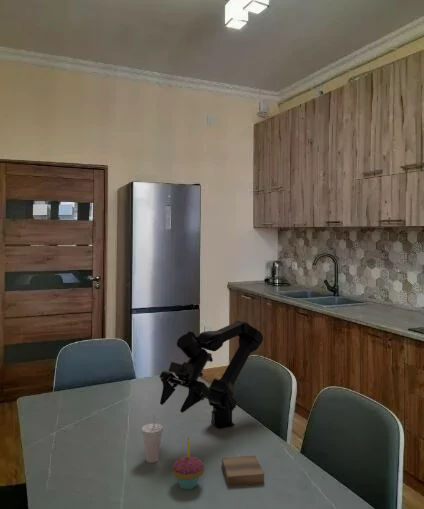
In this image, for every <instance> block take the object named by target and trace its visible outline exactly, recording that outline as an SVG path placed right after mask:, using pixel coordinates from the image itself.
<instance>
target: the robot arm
mask: <svg viewBox="0 0 424 509" xmlns="http://www.w3.org/2000/svg"><path fill="white" fill-rule="evenodd" d="M235 337H238V348H237V349H236V351H235V353H234V355H233V357H232V358H231V360H230V361H229V363H228V366H227V367H226V369H225V371H224V372H223V375H222V376H221V378H219V379H216V378H214V379H213V380H212V382H211V384H210V385H209V387H208V386H207V385H206V383H205V382H203V381H199V380H198V379H199V377H201V378H203V375H204V373H202V372H203V370H204V368H205V367H206V364H208V362H210V363H213V357H212V356H213V355H212V353H210V352H208V351H211V352H216V351H218V350H220V348H222V347H223V346H224V343H226V342H227V341H229V340H231V339H233V338H235ZM263 341H264V337H263V333H262V332H261V331H260V330H258V329H257V328H256V327H253V326H252V325H250V324H249V323H248V322H247V321H242V320H236V321H235V322H232V323H231V324H229V325H226V326H224V327H221V328H220V329H217V330H207V331H202V332H201V333H200V334H198V336H197V335H196V334H195V333H194V332H193V331H189V330H188V331H187V333H185V334H183V335H181V336H180V337H178V339H177V341H176V346H177V348H178V349H179V350H180V352H182V354H184V356H185V357H187V358H189V359H187V362H186V361H184V362H183V363H178V362H173V361H171V362H170V365H169V368H168V371H166V370H164V371H162V372H161V373H160V375H159V376H158V377H159V379H160V381H161V382H162V391H161V392H162V393H161V397H160V399H159V400H160V402H159V404H160V405H161V406H163V405H164V404H165V403H166V402H167V400H168V399H169V398H170V397H171V396H172V395H173V394H174V392H175V391H176V389H175V388H177V387H178V386H180V387H183V388H186V389H188V392H187V393H188V394H187V396H186V398H185V400H184V402H183V404H182V405H181V407H180V410H179V411H180V413H181V414H183V413H185V412H186V411H188V410H189V409H190V408H191V407H193V406H194V405H196V404H197V403H199V402H201V401H204V400H205V399H206V400H207V401H208V404H209V406H211V407H212V411H211V420H210V422H211V423H212V424H213V425H214V426H215V427H216V428H217V429H222V428H227V427H232V426H235V423H234V422H233V411H234V410H235V409H236V407H237V404H238V403H237V400H236V399H235V398H234V396H233V395H234V385H235V383H236V381H237V379H238V378H239V375H240V373H241V371H242V370H243V368H244V366H245V364H246V362H247V360H248V358H249V356H250V355H251V354H252V353H253V352H255V351H257V350H258V349H259V347H260V345H261V344H262V342H263Z"/></svg>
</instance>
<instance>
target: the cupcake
mask: <svg viewBox="0 0 424 509" xmlns="http://www.w3.org/2000/svg"><path fill="white" fill-rule="evenodd" d="M186 443H187V444H186V446H187V448H186V453H187V455H185V456H182V457H180V458H178V459H176V460H175V461H174V462H173V465H172V474H173V475H174V477H175V478H176V480H177V482H178V486H179V487H180V488H182V489H184V490H191V489H195V488H196V487H197V485H198V481H199V478H200V477H201V476H202V475H203V473H204V471H205V465H204V463H203V461H202V460H201V459H200V458H199V457H196V456H193V455H191V452H190V451H191V450H190V449H191V448H190V447H191V445H190V443H191V441H190V438H189V436H188V437H187V442H186Z"/></svg>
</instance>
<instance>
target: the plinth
mask: <svg viewBox="0 0 424 509" xmlns="http://www.w3.org/2000/svg"><path fill="white" fill-rule="evenodd" d="M221 469H222V472H223V474H224V477H225V481H226V484H227V486H229V487H232V486H245V485H256V484H264V483H265V473H264V471H263V469H262V467H261V465H260V463H259V460H258V459H257V456H256V455H244V456H228V457H226V456H225V457H221Z"/></svg>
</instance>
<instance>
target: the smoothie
mask: <svg viewBox="0 0 424 509" xmlns="http://www.w3.org/2000/svg"><path fill="white" fill-rule="evenodd" d="M163 431H164V427H163V425H161V424H159V423H156V413H155V412H154V413H153V414H152V423H147V424H144V425H143V426H142V427H141V434H142V437H143V443H144V444H143V446H144V453H145V460H146V462H147V463H156V462H158V461H159V458H160V451H161V450H160V449H161V442H162V433H163Z"/></svg>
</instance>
